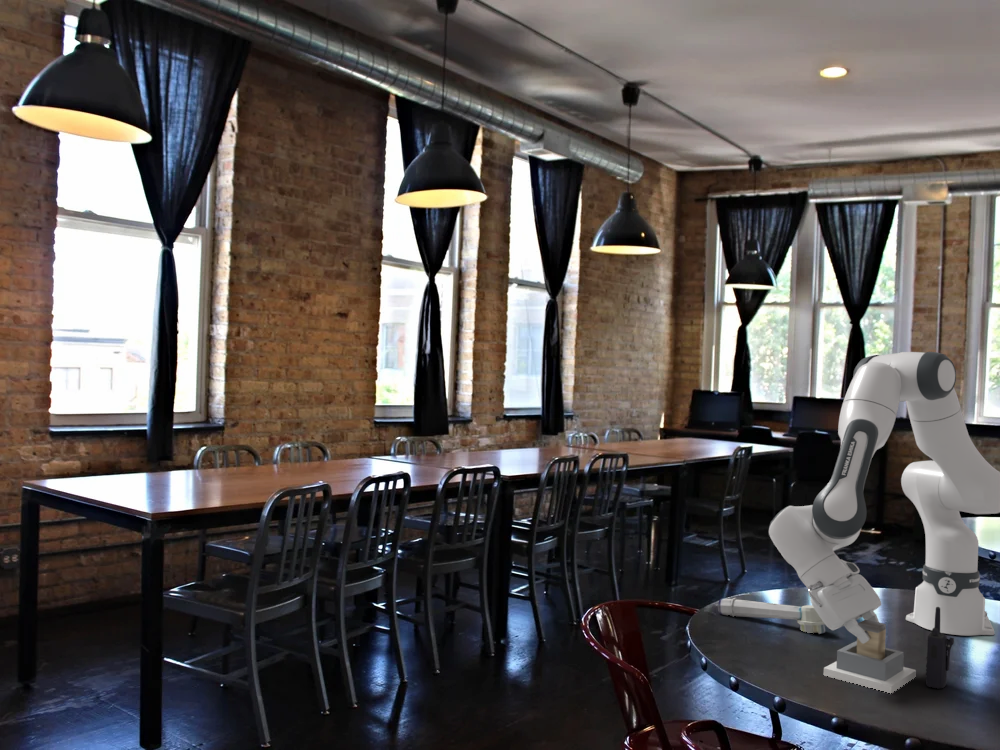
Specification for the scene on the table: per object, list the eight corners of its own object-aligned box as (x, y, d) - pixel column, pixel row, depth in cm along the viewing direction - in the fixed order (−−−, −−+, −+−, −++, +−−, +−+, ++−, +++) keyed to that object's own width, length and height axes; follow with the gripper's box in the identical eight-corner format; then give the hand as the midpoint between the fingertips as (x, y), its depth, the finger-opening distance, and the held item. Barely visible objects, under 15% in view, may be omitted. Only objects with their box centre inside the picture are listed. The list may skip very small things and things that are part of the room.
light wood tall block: (864, 664, 177) (865, 619, 177) (884, 669, 174) (885, 623, 174) (856, 668, 174) (857, 623, 174) (876, 674, 172) (878, 628, 171)
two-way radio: (928, 679, 174) (931, 603, 173) (954, 684, 171) (956, 607, 171) (923, 687, 169) (926, 609, 169) (949, 693, 167) (952, 614, 166)
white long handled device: (724, 595, 219) (826, 600, 204) (727, 623, 218) (830, 629, 203) (715, 600, 215) (819, 605, 200) (718, 627, 214) (822, 635, 199)
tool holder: (850, 660, 184) (851, 636, 183) (915, 677, 175) (916, 652, 174) (823, 675, 174) (824, 650, 174) (890, 694, 165) (891, 667, 165)
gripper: (816, 578, 171) (865, 640, 165) (858, 562, 186) (905, 619, 179) (793, 596, 175) (840, 658, 168) (837, 579, 189) (882, 635, 183)
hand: (874, 637), depth 174 cm, fingers open, 5 cm apart
